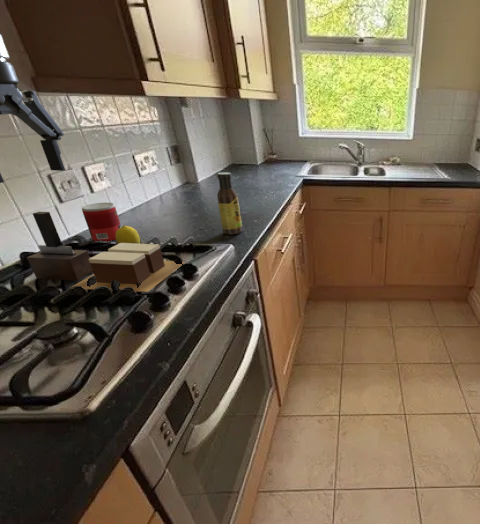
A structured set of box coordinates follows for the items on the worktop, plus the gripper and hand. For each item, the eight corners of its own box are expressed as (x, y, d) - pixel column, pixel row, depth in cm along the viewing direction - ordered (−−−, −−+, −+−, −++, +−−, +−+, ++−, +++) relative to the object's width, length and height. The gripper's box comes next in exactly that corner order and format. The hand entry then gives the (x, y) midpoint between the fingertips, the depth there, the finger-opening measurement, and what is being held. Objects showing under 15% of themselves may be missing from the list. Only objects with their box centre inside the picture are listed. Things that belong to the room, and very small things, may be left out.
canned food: (129, 238, 106) (119, 204, 101) (100, 246, 99) (88, 210, 95) (117, 233, 109) (106, 201, 104) (88, 241, 103) (76, 206, 98)
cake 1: (96, 282, 77) (88, 259, 74) (110, 274, 81) (103, 251, 78) (138, 284, 76) (131, 261, 74) (150, 275, 80) (144, 253, 78)
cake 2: (115, 271, 82) (107, 249, 79) (127, 264, 86) (120, 242, 83) (154, 273, 82) (148, 251, 79) (165, 265, 86) (159, 244, 83)
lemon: (115, 254, 95) (106, 227, 91) (132, 246, 100) (124, 221, 96) (131, 256, 94) (123, 229, 90) (147, 249, 98) (140, 223, 95)
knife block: (39, 284, 78) (26, 257, 75) (57, 274, 83) (47, 248, 80) (80, 286, 78) (69, 259, 75) (96, 276, 83) (87, 250, 80)
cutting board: (71, 293, 75) (69, 288, 74) (122, 263, 89) (120, 258, 89) (149, 297, 74) (147, 291, 74) (187, 266, 89) (186, 261, 88)
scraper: (48, 277, 79) (20, 213, 73) (54, 274, 81) (27, 210, 74) (79, 278, 79) (54, 214, 72) (85, 275, 81) (60, 212, 74)
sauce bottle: (242, 234, 111) (233, 174, 103) (222, 236, 110) (212, 175, 101) (242, 228, 117) (234, 171, 108) (223, 230, 115) (213, 171, 107)
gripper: (-84, 49, 50) (-18, 189, 59) (62, 67, 72) (93, 167, 81) (-133, 47, 50) (-59, 187, 59) (28, 66, 72) (63, 165, 81)
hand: (29, 176), depth 70 cm, fingers open, 13 cm apart
